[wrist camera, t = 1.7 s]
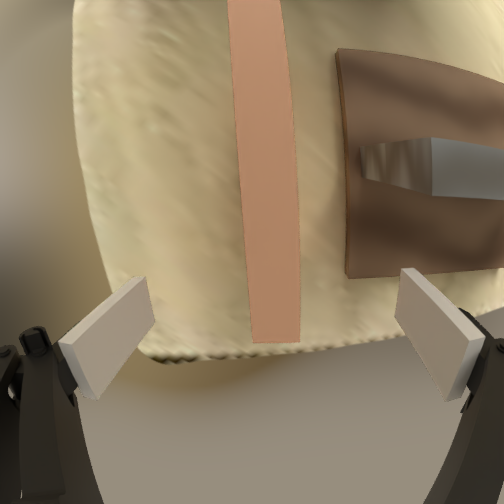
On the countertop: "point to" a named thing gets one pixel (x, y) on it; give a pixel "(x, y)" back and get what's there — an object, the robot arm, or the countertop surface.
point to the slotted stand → (420, 165)
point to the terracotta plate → (266, 168)
